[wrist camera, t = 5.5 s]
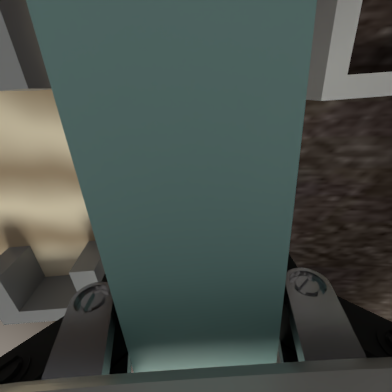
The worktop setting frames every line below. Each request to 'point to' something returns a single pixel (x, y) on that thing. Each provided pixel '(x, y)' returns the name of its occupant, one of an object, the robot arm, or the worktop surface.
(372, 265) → the worktop surface
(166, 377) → the robot arm
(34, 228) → the base board
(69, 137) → the slat
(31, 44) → the grey slat holder
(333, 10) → the parts tray
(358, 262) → the worktop surface
